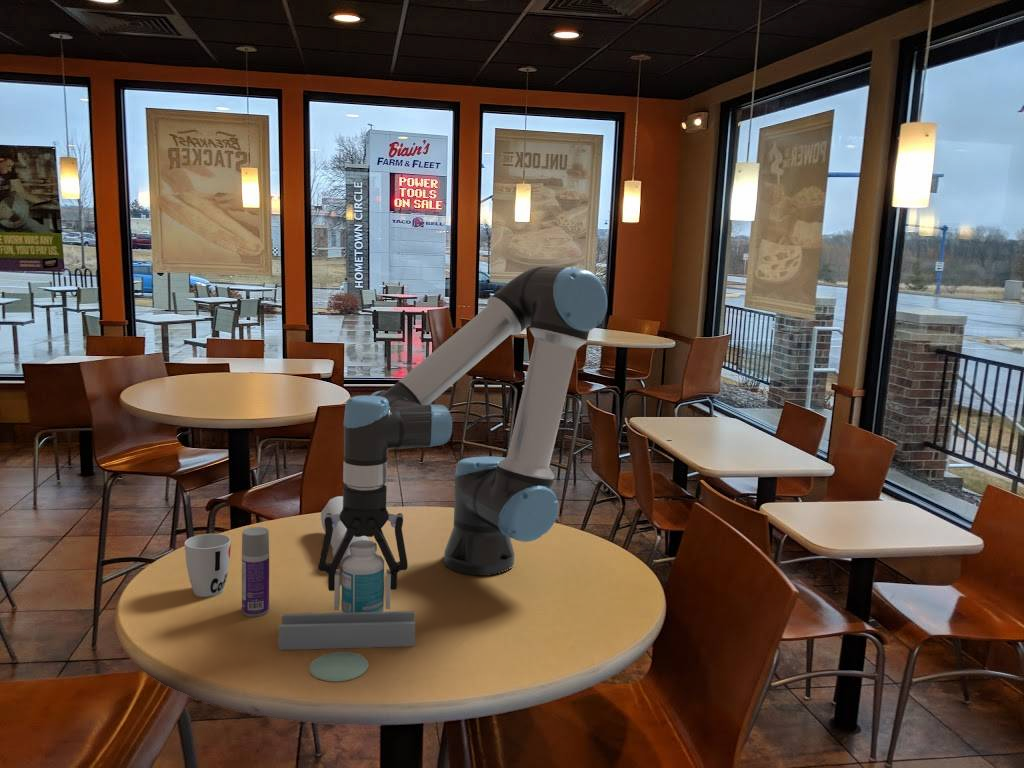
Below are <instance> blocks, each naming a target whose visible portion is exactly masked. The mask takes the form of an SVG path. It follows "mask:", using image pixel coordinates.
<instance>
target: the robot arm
mask: <svg viewBox="0 0 1024 768" xmlns="http://www.w3.org/2000/svg"><path fill="white" fill-rule="evenodd" d="M607 309H608V296H607V291H606V289H605V287H604V285H603V284H602V280H601V279H600V278H599V277H598V276H597V275H596V274H595V273H593V272H591V271H590V270H586V269H581V268H578V267H576V268H575V267H573V266H571V267H558V266H557V267H551V266H536V267H533V268H530V269H528V270H525V271H524V272H522V273H521V274H518V275H517V276H515V277H514V278H513V279H512V280H510V281H509V282H507V283H506V284H504V285H503V286H502V287H501V288H500V289H498V290H497V291H496V292H495V293H494V294H493V295H491V296H490V297H489V298H488V299H487V305H486V307H485V308H484V309H482V310H481V311H480V312H479V313H478V314H476V315H475V316H474V317H472V319H470V320H469V321H468V322H467V323H465V325H463V326H462V327H461V328H460V329H458V330H457V331H456V332H455V333H454V334H453V335H452V336H450V337H449V338H448V339H447V340H445V342H442V344H441V345H439V347H437V348H436V349H435V350H433V351H432V352H431V353H430V354H429V355H428V356H427V357H426V358H424V359H423V360H422V361H421V362H420V363H419V364H417V365H416V366H415V367H413V369H411V370H410V371H409V372H408V373H406V374H405V375H404V376H403V377H402V378H401V379H399V380H398V381H397V382H396V383H395V384H393V385H392V386H391V387H390V388H389V389H387V390H378V391H375V392H372V393H371V394H370V395H356V396H355V395H354V396H352V397H350V398H348V399H347V400H346V402H345V407H344V415H343V416H344V418H343V465H342V466H343V470H342V472H343V475H342V476H343V479H342V481H343V483H344V486H343V487H342V496H343V509H342V511H341V513H340V514H335V515H332V514H330V513H328V514H326V516H325V521H324V522H325V528H326V532H325V531H324V533H325V534H324V538H323V541H322V547H321V552H320V557H319V561H318V564H317V570H318V571H319V572H324V573H327V575H328V576H327V577H328V579H327V583H328V584H327V589H328V591H329V592H333V591H334V599H333V601H334V603H333V604H334V605H333V606H334V607H333V610H334V611H339V609H340V604H341V603H340V600H341V599H340V596H341V594H340V592H341V587H340V586H341V569H339V568H338V567H339V565H340V562H341V560H342V558H343V556H344V554H345V552H346V550H347V548H348V546H349V544H350V542H351V540H352V538H353V536H355V537H361V536H366V537H367V538H372V537H374V540H375V543H376V544H377V545H378V547H379V550H380V551H381V554H382V555H383V559H384V561H385V562H386V564H387V567H388V568H386V576H385V577H386V578H385V580H386V581H385V610H390V609H391V591H393V590H394V591H396V590H397V588H398V573H399V572H401V571H406V570H408V568H409V567H408V566H409V565H408V564H409V563H408V558H407V552H406V545H405V540H404V535H403V529H402V528H403V523H404V514H403V513H401V512H399V513H397V514H394V513H389V511H388V509H387V493H388V492H387V489H388V488H387V486H386V483H387V482H388V481H387V480H388V459H389V458H388V453H389V450H400V449H410V448H411V449H414V448H425V447H427V448H431V447H434V446H441V445H445V444H446V443H447V442H449V441H450V439H451V436H452V433H453V419H452V416H451V412H450V411H449V409H448V408H447V406H446V405H443V404H433V402H434V401H436V399H437V398H438V397H440V396H441V395H442V394H443V393H445V392H446V391H447V390H448V389H449V388H450V387H451V386H452V385H454V384H455V383H457V381H459V380H460V379H461V378H462V377H463V376H464V375H466V374H467V372H469V371H470V370H472V368H473V367H475V366H476V365H477V364H478V363H479V362H480V361H481V360H482V359H484V358H485V357H486V356H487V355H489V354H490V352H492V351H493V350H495V349H496V348H497V347H498V346H499V345H500V344H502V342H504V341H505V340H506V339H507V338H508V337H509V336H511V335H513V336H515V335H516V336H518V335H519V334H520V333H522V332H523V331H524V330H525V329H526V328H528V327H529V331H530V332H531V335H532V337H534V338H533V339H534V341H533V346H532V350H531V354H530V358H529V361H528V362H529V364H528V367H527V370H526V371H527V372H526V376H525V380H524V383H523V387H522V388H523V389H522V393H521V397H520V400H519V404H518V409H517V412H516V417H515V420H514V421H515V423H514V426H513V431H512V434H511V435H512V436H511V438H510V443H509V446H508V451H507V455H506V457H505V456H504V457H502V456H473V457H466V458H462V459H460V460H459V461H458V462H457V463H456V465H455V473H454V481H455V482H454V502H453V503H454V505H453V509H454V510H453V527H452V530H451V533H450V536H449V538H448V540H447V543H446V546H445V548H444V553H443V554H444V556H443V559H444V560H443V563H444V565H445V566H446V567H447V568H449V569H451V570H452V571H454V572H456V573H461V574H466V575H471V576H489V575H488V574H494V575H496V574H495V573H499V572H502V571H505V570H507V569H509V568H510V567H512V566H513V564H514V565H515V555H516V554H515V551H514V547H513V543H512V539H513V540H515V541H519V542H522V543H523V542H524V543H527V542H533V541H536V540H538V539H540V538H542V536H543V535H544V534H548V532H549V531H550V530H551V529H552V527H553V526H554V524H555V522H556V520H557V518H558V515H559V509H560V508H559V507H560V504H559V501H558V499H557V496H556V494H555V492H554V491H553V486H554V482H555V474H554V473H553V471H552V469H551V467H550V464H551V461H552V456H553V452H554V448H555V444H556V438H557V435H558V431H559V427H560V422H561V418H562V415H563V410H564V406H565V402H566V401H565V400H566V397H567V393H568V389H569V384H570V381H571V377H572V371H573V368H574V364H575V359H576V355H577V351H578V350H579V348H580V347H582V346H583V345H585V344H586V343H587V342H588V337H589V334H590V331H591V330H594V329H595V328H598V325H600V324H601V323H602V322H603V320H604V318H605V316H606V313H607ZM339 521H341V522H342V523H343V524H344V526H345V527H346V528H347V531H346V533H345V535H344V537H343V539H342V541H341V543H340V545H339V547H338V549H337V551H336V553H335V555H334V556H332V560H331V561H330V562H328V561H327V559H328V556H329V550H330V546H331V543H330V542H331V538H332V533H333V528H335V527H336V526H337V523H338V522H339ZM388 521H389V522H390V526H391V527H392V528H394V535H395V541H396V547H397V552H398V558H399V561H397V560H395V555H393V553H392V550H391V548H390V546H389V544H388V542H387V540H386V537H385V535H384V532H383V530H382V528H383V527H384V526H385V524H386V523H388ZM513 567H514V566H513ZM513 567H512V568H513ZM499 574H500V573H499Z"/></svg>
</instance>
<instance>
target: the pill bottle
mask: <svg viewBox="0 0 1024 768" xmlns="http://www.w3.org/2000/svg"><path fill="white" fill-rule="evenodd" d="M377 545H378V543H377V542H376V541H373V540H369V541H368V540H360V541H355V542H353V543H351V544H350V553H351V554H349V555H348V556H346V557H345V558H344V560H343V562H342V566H341V613H349V612H384V605H385V604H384V603H385V601H384V599H385V592H384V590H385V587H384V586H385V582H384V581H385V559H384V557H382V556H381V555H380V554H379V553H377V552H378V551H377V549H378V548H377V547H378V546H377Z"/></svg>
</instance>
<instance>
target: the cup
mask: <svg viewBox="0 0 1024 768" xmlns="http://www.w3.org/2000/svg"><path fill="white" fill-rule="evenodd" d="M231 545H232V538H231V537H230V535H229V536H228V535H225V534H222V533H221V534H220V533H205V534H198V535H195V536H191V537H188V538H187V539H186V540H185V541H184V551H185V554H184V555H185V564H186V568H187V574H188V578H189V583H190V585H191V588H192V590H193V593H194V595H195V596H196V597H198V598H199V597H200V598H211V597H214V596H218V595H220V594H222V593H223V592H224V589H225V585H226V582H227V578H228V573H229V567H230V562H231V547H232V546H231Z"/></svg>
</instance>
